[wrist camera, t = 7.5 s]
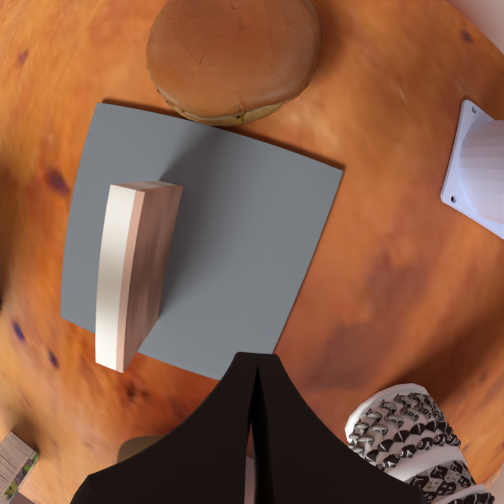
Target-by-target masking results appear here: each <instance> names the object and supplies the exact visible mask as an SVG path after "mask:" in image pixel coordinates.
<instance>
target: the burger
mask: <svg viewBox="0 0 504 504" xmlns="http://www.w3.org/2000/svg"><path fill="white" fill-rule="evenodd" d="M321 39H322V33H321V23H320V18H319V15H318V12H317V10H316V8H315V6H314V5H313V3H312V2H311V1H309V0H169V1H168V2H167V4H166V5H165V6H164V8H163V9H162V10H161V11H160V13H159V14H158V15H157V17H156V19H155V21H154V23H153V25H152V27H151V29H150V33H149V39H148V44H147V48H146V57H147V68H148V70H149V74H150V77H151V80H152V81H153V83H154V84H155V86H156V88H157V89H158V90H157V91H158V92H159V93H160V94H161V95H162V96H163V98H164V99H165V101H166V102H167V103H168V106H170V107H171V108H173V109H174V110H175V111H177V112H178V113H179V114H180V115H182V116H184V117H186V118H188V119H190V120H193V121H195V122H198V123H202V124H205V125H210V126H233V125H241V124H245V123H248V122H252V121H254V120H257V119H261V118H264V117H266V116H268V115H270V114H272V113H274V112H275V111H276V110H277V109H278V108H279V107H280V106H281V105H282V104H283V103H284V102H286V101H290V100H293V99H295V98H296V97H297V96H299V94H300V93H301V92H302V91H303V90H304V89H305V88H306V87H307V86H308V84H309V82H310V80H311V78H312V75H313V72H314V70H315V68H316V63H317V60H318V57H319V53H320V45H321Z"/></svg>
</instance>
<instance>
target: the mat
mask: <svg viewBox="0 0 504 504" xmlns="http://www.w3.org/2000/svg"><path fill="white" fill-rule="evenodd" d="M342 173H343V171H342V170H339V169H337V168H334V167H332V166H329V165H327V164H324V163H321V162H319V161H316V160H314V159H311V158H308V157H305V156H303V155H300V154H297V153H294V152H292V151H289V150H286V149H283V148H280V147H277V146H274V145H271V144H268V143H265V142H262V141H259V140H256V139H253V138H249V137H246V136H243V135H239V134H236V133H233V132H229V131H226V130H222V129H219V128H215V127H211V126H208V125H204V124H200V123H196V122H192V121H188V120H184V119H180V118H176V117H172V116H167V115H163V114H158V113H153V112H149V111H144V110H139V109H134V108H128V107H123V106H117V105H111V104H105V103H98V102H97V105H96V108H95V111H94V114H93V117H92V120H91V124H90V127H89V130H88V134H87V137H86V141H85V144H84V148H83V152H82V156H81V160H80V164H79V168H78V172H77V177H76V181H75V186H74V191H73V196H72V202H71V207H70V213H69V220H68V226H67V234H66V241H65V250H64V260H63V271H62V286H61V316H60V317H62V318H64V319H66V320H68V321H70V322H72V323H74V324H76V325H78V326H80V327H82V328H84V329H86V330H88V331H90V332H92V333H95V334H96V302H97V285H98V272H99V261H100V252H101V243H102V235H103V228H104V221H105V214H106V208H107V202H108V196H109V191H110V186H111V184H121V183H132V182H145V181H162V182H166V183H171V184H175V185H179V186H183V190H182V194H181V198H180V203H179V207H178V212H177V216H176V221H175V225H174V230H173V235H172V240H171V245H170V250H169V255H168V260H167V265H166V271H165V276H164V282H163V288H162V294H161V300H160V306H159V313H158V320H157V322H156V324H155V325H154V327H153V328H152V330H151V331H150V333H149V334H148V336H147V337H146V339H145V340H144V342H143V343H142V345H141V346H140V348H139V349H138V351H137V352H139V353H141V354H144V355H146V356H149V357H152V358H154V359H157V360H160V361H162V362H165V363H168V364H171V365H174V366H176V367H179V368H182V369H185V370H188V371H191V372H194V373H197V374H201V375H204V376H207V377H210V378H213V379H217V380H221V378H222V377H223V376H224V374H225V373H226V371H227V369H228V368H229V366H230V364H231V362H232V360H233V358H234V355H235V354H236V353H237V352H250V353H257V354H258V353H264V354H272V352H273V350H274V348H275V346H276V343H277V341H278V339H279V336H280V334H281V332H282V330H283V327H284V325H285V323H286V320H287V318H288V315H289V313H290V311H291V308H292V306H293V304H294V301H295V299H296V296H297V294H298V291H299V289H300V286H301V284H302V282H303V279H304V277H305V274H306V271H307V269H308V266H309V264H310V261H311V259H312V256H313V254H314V251H315V248H316V246H317V243H318V240H319V238H320V235H321V232H322V230H323V227H324V224H325V222H326V219H327V216H328V213H329V211H330V208H331V205H332V202H333V199H334V197H335V194H336V191H337V188H338V185H339V182H340V179H341V176H342Z"/></svg>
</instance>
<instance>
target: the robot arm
mask: <svg viewBox="0 0 504 504" xmlns="http://www.w3.org/2000/svg"><path fill="white" fill-rule="evenodd" d="M472 109H473V111H474V113H473V111H472ZM440 196H441V200H442V201H443V202H444V203H446V204H447V205H449V206H451V207H453V208H454V209H456V210H458V211H459V212H461V213H463V214H464V215H466V216H468V217H469V218H471V219H473V220H474V221H476V222H477V223H479V224H481V225H482V226H484V227H485V228H487V229H488V230H490V231H491V232H493V233H494V234H496V235H497V236H499V237H500V238H502V239H503V240H504V120H497V121H495V120H494V119H492V118H491V117H490V116H489V115H488V114H486V113H485V112H484V111H483V110H481V109H480V108H479V107H478V106H476V105H475V104H474V103H472V102H471V101H470V100H464V101H463V102H462V106H461V111H460V117H459V122H458V127H457V132H456V137H455V141H454V146H453V150H452V154H451V158H450V162H449V166H448V169H447V173H446V177H445V180H444V184H443V187H442V190H441V195H440ZM452 196H453V201H452V202H451V197H452ZM250 425H251V429H252V446H253V461H254V481H255V489H254V504H428V502H427V500H426V498H425V496H424V494H423V492H422V490H421V489H419V488H417V487H414V486H412V485H410V484H408V483H406V482H403V481H401V480H399V479H397V478H395V477H393V476H391V475H389V474H387V473H385V472H384V471H382V470H380V469H379V468H377V467H376V466H374V465H372V464H371V463H369V462H368V461H366V460H365V459H363V458H362V457H361V456H359V455H358V454H357V453H356V452H354V451H353V450H352V449H350V448H349V447H348V446H346V445H345V444H344V443H343V442H342V441H341V440H340V439H338V438H337V437H336V436H335V435H334V434H333V433H332V432H331V431H330V430H329V429H328V428H327V427H326V426H325V425H324V424H323V423H322V421H321V420H320V419H319V418H318V417H317V416H316V415H315V413H314V412H313V411H312V410H311V408H310V407H309V406H308V405H307V403H306V402H305V400H304V399H303V398H302V396H301V395H300V393H299V392H298V390H297V389H296V387H295V386H294V384H293V383H292V381H291V379H290V378H289V376H288V374H287V372H286V370H285V369H284V367H283V365H282V363H281V360H280V358H279V357H278V356H277V354H264V353H258V354H257V353H250V352H237V353H236V354H235V355H234V358H233V360H232V362H231V364H230V366H229V368H228V369H227V371H226V373H225V374H224V376H223V377H222V378H221V380H220V381H219V383H218V384H217V385H216V387H215V388H214V389H213V391H212V392H211V393H210V394H209V395H208V396H207V398H206V399H205V400H204V401H203V402H202V403H201V404H200V406H199V407H198V408H197V409H196V410H195V411H194V412H193V413H192V414H191V415H190V416H188V417H187V418H186V419H185V420H184V421H183V422H182V423H181V424H179V425H178V426H177V427H176V428H174V429H173V430H172V431H171V432H169V433H168V434H167V435H165V436H164V437H163V438H161V439H160V440H158V441H157V442H155V443H154V444H152V445H151V446H149V447H147V448H146V449H144V450H142V451H140V452H139V453H137V454H135V455H133V456H132V457H130V458H128V459H126V460H124V461H122V462H120V463H117V464H115V465H113V466H110V467H108V468H106V469H103V470H101V471H98V472H96V473H93V474H90V475H88V476H87V478H86V479H85V480H84V482H83V483H82V485H81V486H80V487H79V489H78V490H77V492H76V493H75V495H74V497H73V499H72V501H71V503H70V504H244V495H245V467H246V448H247V443H248V437H249V431H250Z"/></svg>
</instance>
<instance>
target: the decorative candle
mask: <svg viewBox="0 0 504 504" xmlns="http://www.w3.org/2000/svg"><path fill="white" fill-rule="evenodd" d="M345 431H346V436H347V440H348V441H349V442H350V443H349V444H348V447H349V448H352V450H353V451H354V452H356V453H357V454H358V455H359V456H361V457H362V458H363V459H365V460H366V461H368V462H369V463H371V464H372V465H374V466H376V467H377V468H379V469H380V470H382V471H384V472H385V473H387V474H389V475H391V476H393V477H395V478H397V479H399V480H401V481H403V482H406V483H408V484H410V485H412V486H414V487H417V488H419V489H421V490H422V492H423V494H424V496H425V498H426V500H427V502H428V504H493V502H494V500H495V497H494V496H491V493H489V492H487V490H486V488H485V486H484V485H483V484H480V485H476V483H475V481H474V479H473V477H472V476H471V474H470V472H469V470H468V468H467V467H466V466H467V462H466V460H465V458H464V457H463V455H462V453H461V451H460V448H459V447H460V445H461V441H460V440H459V439H457V436H456V435H454V434H452V433H453V429H452V427H449V423H448V422H445V415H444V414H443V412H441V410H440V409H439V408H438V405H437V403H436V402H435V401H434V400H433V398H432V397H431V396H430V395H429V394H428V392H427V391H426V389H425V388H424V387H423V386H420V385H417V384H414V383H408V384H399V385H394V386H392V387H389V388H387V389H384V390H382V391H379V392H377V393H376V394H374V395H373V396H371V397H370V398H368V399H367V400H365V401H364V402H362V403H361V404H360V405H359V406H358V407H357V409H356V410H355V411H354V412H353V413H352V414H351V415H350V416H349V419H348V422H347V424H346V427H345Z"/></svg>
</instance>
